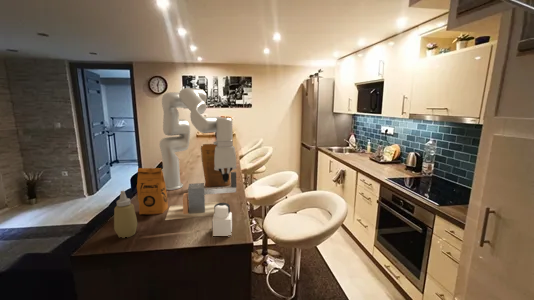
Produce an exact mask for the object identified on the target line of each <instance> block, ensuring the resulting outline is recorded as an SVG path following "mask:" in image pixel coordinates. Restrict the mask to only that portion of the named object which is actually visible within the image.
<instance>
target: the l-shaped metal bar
mask: <svg viewBox="0 0 534 300" xmlns="http://www.w3.org/2000/svg"><path fill="white" fill-rule="evenodd" d="M230 183H231V184H230V185H228V186H217V187H204V195H217V194H228V193H230V194H231V193H236V192H237V172H236V171H231V172H230Z"/></svg>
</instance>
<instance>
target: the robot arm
mask: <svg viewBox="0 0 534 300" xmlns="http://www.w3.org/2000/svg"><path fill="white" fill-rule="evenodd" d="M207 98H208V97H207V93H206V91H204V90H203V89H201V88H196V87H195V88H194V87H193V88H192V87H185V88H183V89H181V90H180V91H179V92H174V91H173V92H171V91H170V92H166V93H164V94H163V95H162V97H161V106H162V110H163V118H162V119H163V121H162V130H163V134H164V135H165V136H167V137H164V138H162V139H161V140H160V141H159V148H160V152H161V160H162V172H163V177H164V181H165V185H166V191H172V190H179V189H181V188H182V187H184V184H183V183H182V182H181V173H180V171H181V170H180V159H179V156H178V155H177V154H176V153H177V152H183V151H187V150H188V149H189V146H190V140H191V139H190V137H191V125H190V122H189V121H188V120H186V119H183V118H181V119H180V118H179V117H180V113H179V110H178V108H179V109H180V108H181V109H188V110H189V111H190V115H189V118H190V121H191V124H192V126H194V128H195V129H196V130H197V131H198V132H200V133H202V134H209V133H216V141H213V144H214V145H217V147H215V156H214V163H215V167H214V170H217V171H220V172H221V173H222V178H223V180H224V182H228V180H229V173H230V174H231V172H233V171H234V170H237V168H238V167H237V155H236V152H237V151H236V148H235V146H234V143H233V141H234V140H233V139H234V137H233V135H234V133H233V131H234V130H233V119H232V118H230V117H222V116H205V117H204V116H202V115H203V114H204V113H205V111H206V109H207V103H206V101H207V100H208V99H207ZM224 168H227V171H226V174H225V172H224Z"/></svg>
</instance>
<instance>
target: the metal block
mask: <svg viewBox="0 0 534 300" xmlns="http://www.w3.org/2000/svg"><path fill="white" fill-rule="evenodd" d="M204 188H205V182H197V183H189V184H188V188H187V193H188V199H189V214H194V213H204V212H205V203H206V201H205V200H206V199H205V195H204Z"/></svg>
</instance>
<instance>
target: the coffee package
mask: <svg viewBox="0 0 534 300" xmlns="http://www.w3.org/2000/svg"><path fill="white" fill-rule="evenodd" d="M136 183H137V184H136V192H137V199H138V200H137V202H138V209H139V210H138V214H139V215H151V216H152V215H157V214H159V215H160V214H164V213H165V212H166V211H168V210H169V208H168V207H169V205H168V202H169V201H168V200H169V199H168V194H167V190H166V185H165V181H164V175H163V168H162V167H160V168H159V167H155V168H154V167H138V168H137V180H136Z"/></svg>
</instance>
